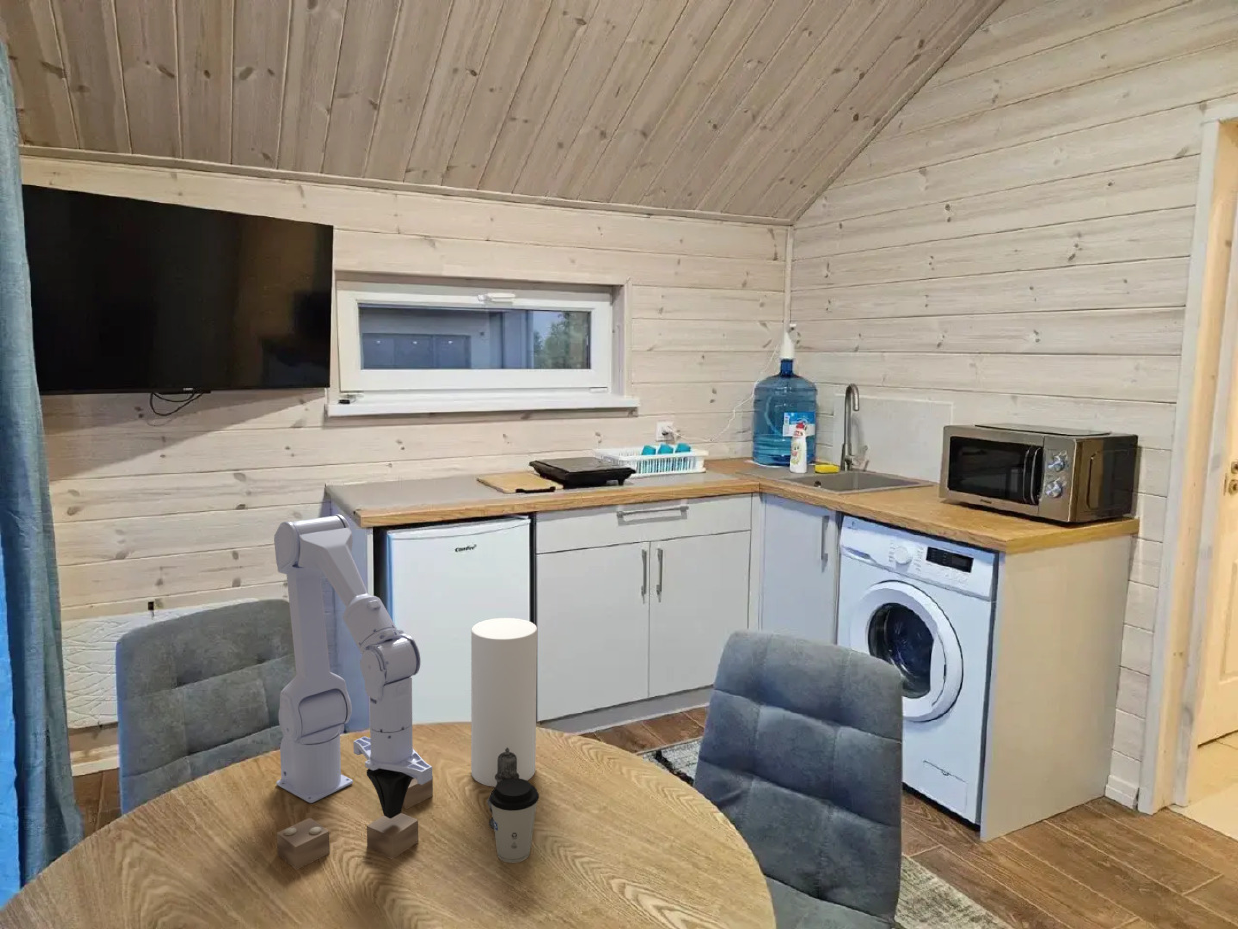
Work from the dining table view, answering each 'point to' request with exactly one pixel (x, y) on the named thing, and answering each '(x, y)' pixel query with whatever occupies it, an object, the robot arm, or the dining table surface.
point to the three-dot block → (418, 793)
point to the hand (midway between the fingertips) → (392, 814)
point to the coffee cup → (513, 818)
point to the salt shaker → (504, 772)
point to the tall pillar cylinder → (503, 696)
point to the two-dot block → (303, 843)
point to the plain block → (392, 835)
